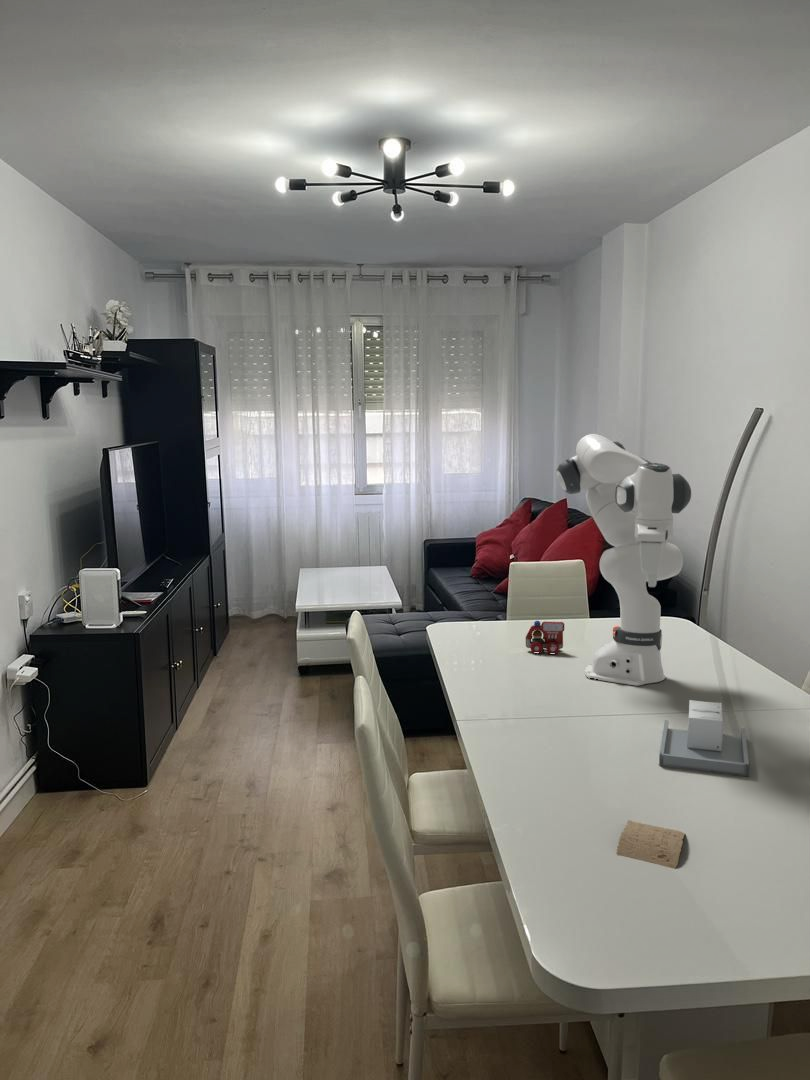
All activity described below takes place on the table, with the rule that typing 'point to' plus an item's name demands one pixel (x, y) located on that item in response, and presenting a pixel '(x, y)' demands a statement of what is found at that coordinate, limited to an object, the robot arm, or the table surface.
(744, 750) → the tray
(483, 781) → the table surface
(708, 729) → the supplement box
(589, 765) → the table surface
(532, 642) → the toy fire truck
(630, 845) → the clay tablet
